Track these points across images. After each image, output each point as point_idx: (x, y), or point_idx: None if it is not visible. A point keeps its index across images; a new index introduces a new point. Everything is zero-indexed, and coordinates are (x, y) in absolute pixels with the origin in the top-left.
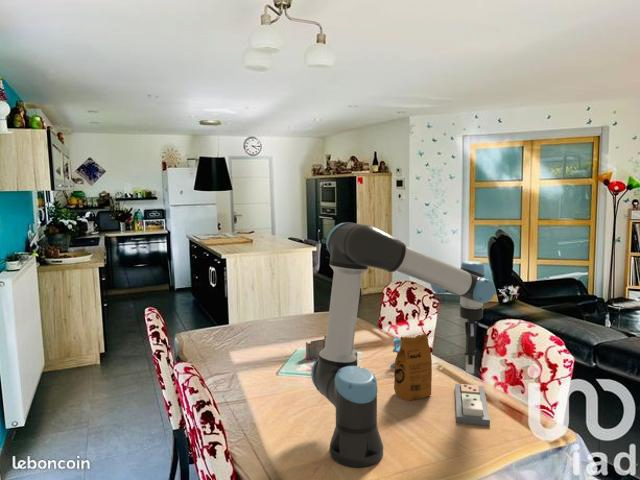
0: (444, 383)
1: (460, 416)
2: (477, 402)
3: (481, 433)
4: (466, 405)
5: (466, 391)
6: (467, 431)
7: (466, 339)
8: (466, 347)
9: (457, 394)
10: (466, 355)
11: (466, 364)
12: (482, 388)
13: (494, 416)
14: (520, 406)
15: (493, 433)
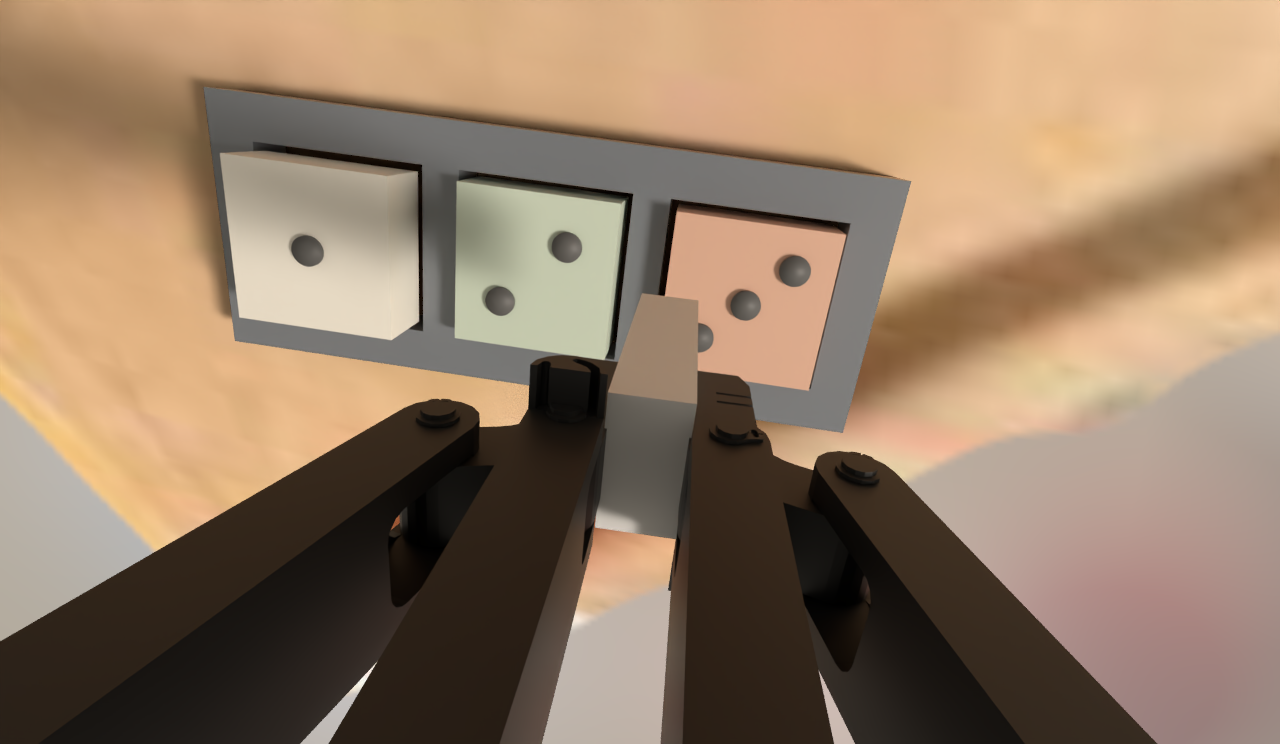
0: (1047, 84)
1: (217, 121)
2: (366, 302)
3: (149, 249)
4: (280, 193)
5: (670, 258)
6: (139, 155)
7: (930, 624)
8: (766, 476)
9: (652, 165)
10: (612, 389)
11: (629, 334)
12: (796, 413)
13: (416, 390)
14: (595, 580)
15: (178, 327)
